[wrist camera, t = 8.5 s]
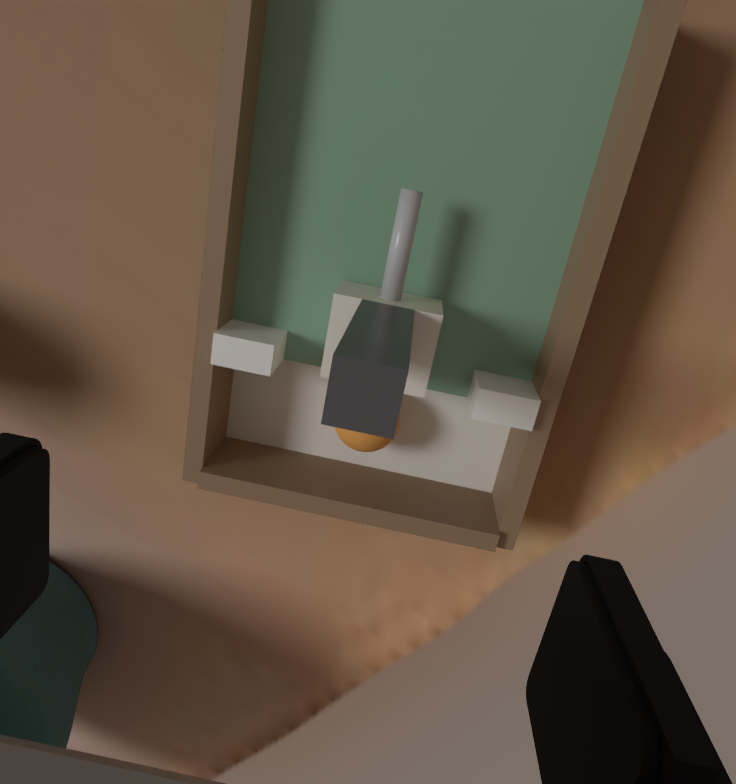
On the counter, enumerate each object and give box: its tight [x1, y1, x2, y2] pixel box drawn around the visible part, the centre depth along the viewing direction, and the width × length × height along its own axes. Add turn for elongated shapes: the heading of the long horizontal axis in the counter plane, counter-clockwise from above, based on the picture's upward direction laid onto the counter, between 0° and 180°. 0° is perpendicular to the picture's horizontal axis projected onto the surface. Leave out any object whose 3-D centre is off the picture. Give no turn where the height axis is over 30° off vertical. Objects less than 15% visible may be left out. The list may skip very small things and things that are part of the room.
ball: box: [335, 413, 400, 452], centre depth 34 cm, size 4×4×4 cm
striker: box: [320, 188, 443, 439], centre depth 25 cm, size 9×5×13 cm, turn 169°
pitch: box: [183, 0, 687, 552], centre depth 30 cm, size 26×18×5 cm
